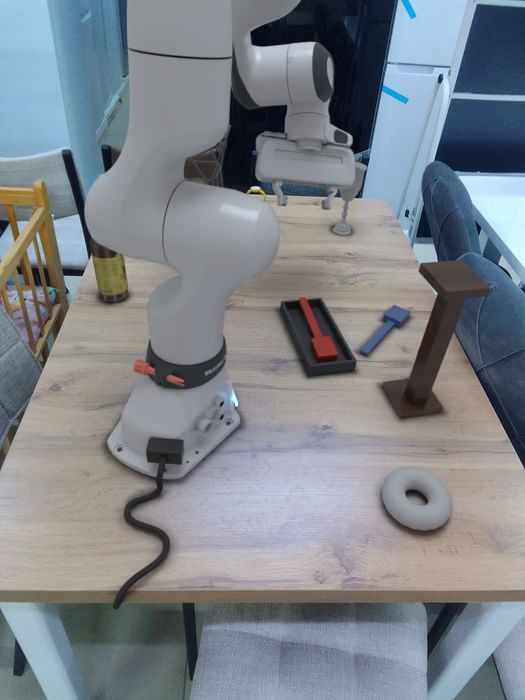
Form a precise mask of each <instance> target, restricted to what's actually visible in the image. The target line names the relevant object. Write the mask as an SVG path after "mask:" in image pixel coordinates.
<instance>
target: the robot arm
mask: <svg viewBox="0 0 525 700" xmlns="http://www.w3.org/2000/svg"><path fill="white" fill-rule="evenodd" d="M300 2H302V0H126V40H127V41H126V42H127V59H128V87H129V88H128V89H129V90H128V91H129V92H128V93H129V94H128V95H129V105H128V106H129V107H128V108H129V109H128V110H129V116H128V127H127V133H126V134H127V135H126V137H125V141H124V145H123V147H122V150H121V152H120V154H119V156H118V158H117V160H116V161H115V163H114V164H113V165H112V166H110V167H111V168H109V169H108V170H107V171H106V172H104V173H103V174H101V175H100V176H98V178H97V179H96V180H95V181H94V182H93V184H92V185H91V187H90V188H89V189H88V192H87V194H86V197H85V200H84V211H83V212H84V220H85V225H86V228H87V230H88V233H89V235H90V236H91V237H92V238H93V239H94V240H95V241H96V242H97V243H98V244H100V245H102V246H104V247H106V248H109V249H111V250H113V251H115V252H117V253H120V254H122V255H124V257H126V258H131V259H134V260H135V259H136V260H140V261H144V262H148V263H149V262H150V263H154V264H158V265H164V266H167V267H171V268H174V269H175V270H178V272H179V274H180V275H177V276H174V277H171V278H169V279H167V280H165V281H163V282H161V283H160V284H158V285H157V286H156V287H155V288H154V289H153V291H152V292H151V293H150V296H149V298H148V301H147V304H146V312H147V313H146V315H147V322H148V331H149V332H148V333H149V339H148V342H147V343H148V344H147V347H146V352H145V353H146V355H145V361H144V360H142V359H141V358H139V359H137V360H135V362H134V364H133V369H132V371H133V372H134V373H136V374H141V375H140V376H139V378H138V380H137V382H136V384H135V386H134V388H133V390H132V392H131V394H130V396H129V398H128V399H127V401H126V403H125V405H124V408H123V410H122V413H121V417H120V419H119V421H118V423H116V426H115V427H114V429H113V430H112V432H111V434H110V435H109V437H108V438H107V443H106V444H107V448H108V450H109V452H110V454H112V456H113V457H115V459H116V460H118V461H119V462H120V463H122V464H123V465H125V466H127V467H128V468H130V469H131V470H134V471H136V472H139V473H141V474H143V475H146V476H149V477H152V478H154V479H155V483H156V488H155V490H153V491H152V492H150V493H148V494H146V495H142V496H139V497H136V498H133V499H132V500H130V501H128V502H127V503H126V505H125V506H124V509H123V516H124V519H125V521H126V522H127V523H128V524H130V525H131V526H133V527H135V528H138V529H141V530H143V531H145V532H146V531H147V532H150V533H152V534H154V535H157V536H158V537H159V538H160V539H161V541H162V544H163V545H162V549H161V552H160V554H159V555H158V556H157V557H156V558H155V559H154V560H153V561H152V562H150V563H149V564H147V565H145V566H144V567H143V568H141V569H140V570H138V571H137V572H136V573H134V574H133V575H132V576H131V577H129V579H127V580H126V581H125V582H124V584H122V586H121V587H120V588H119V590H118V592H117V594H116V595H115V597H114V600H113V604H112V609H113V610H118V609H119V608H120V607H121V605H122V602H123V600H124V598H125V596H126V594H127V593H128V591H129V590H130V589H131V588H132V587H133V586H134V585H135V584H136V583H137V582H139V581H140V580H141V579H143V578H144V577H146V576H147V575H148V574H150V573H151V572H153V571H154V570H156V569H157V568H158V567H159V566H161V564H162V563H164V561H165V560H166V558H167V557H168V554H169V552H170V548H171V541H170V537H169V536H168V534H167V532H166V531H164V530H163V529H162V528H159V527H157V526H155V525H152V524H149V523H146V522H143V521H141V520H138V519H136V518H135V517H134V516H132V513H131V511H132V508H134V507H135V506H137V505H139V504H143V503H146V502H149V501H152V500H153V499H155V498H157V497H158V496H159V495H160V494H161V493H162V491H163V490H164V483H163V480H181V479H182V478H184V477H185V476H186V475H188V473H189V472H190V471H191V470H193V469H194V468H195V467H196V466H197V465H199V463H200V462H201V461H203V459H204V458H206V457H207V456H208V454H210V453H211V452H212V451H213V450H214V449H215V448H217V446H219V445H220V444H221V443H222V442H223V441H224V440H225V439H226V438H227V437H229V435H231V433H233V432H234V431H235V430H236V429H237V428H239V426H240V424H241V417H240V415H239V413H238V412H237V410H236V409H235V407H239V401H238V399H237V397H236V393H235V391H234V389H233V383H232V380H231V378H230V375H229V372H228V370H227V367H226V362H227V354H228V345H227V341H226V337H225V334H224V330H225V329H224V328H225V316H226V308H227V304H228V301H229V299H230V297H231V296H232V294H233V293H234V292H235V290H236V289H238V288H239V287H240V286H241V285H243V284H244V283H246V282H248V281H251V280H253V279H255V278H257V277H260V275H262V274H263V273H264V272H265V271H266V270H267V269H269V267H270V266H271V264H272V263H273V262H274V260H275V258H276V256H277V253H278V250H279V248H280V241H281V229H280V224H279V223H280V222H279V220H278V216H277V214H276V213H275V211H274V209H273V207H272V206H271V204H270V203H268V202H267V201H266V202H264V200H261V198H257V197H255V196H253V195H250V194H246V193H245V192H242V191H240V190H237V189H233V188H227V187H224V188H222V187H221V186H220V187H217V185H215V186H212V184H208V185H206V184H200V183H195V182H190V181H191V180H185V178H186V177H185V166H186V165H185V164H186V162H187V161H186V158H189V157H192V156H194V155H197V154H199V153H201V152H203V151H206V150H208V149H210V148H212V147H213V146H215V145H217V144H219V141H220V140H221V139H222V138H223V136H224V135H225V133H226V131H227V128H228V125H230V112H231V91H232V94H233V97H234V99H235V100H236V101H237V102H238V103H239V104H240V105H241V106H242V107H244V108H245V109H246V110H254V109H260V108H265V107H275V106H287V107H286V108H287V109H286V114H285V118H284V132H283V133H282V132H271V131H267V130H266V131H263V132H262V133H259V134H258V135H257V137H256V139H255V150H256V153H257V156H256V161H255V172H254V176H255V178H256V179H257V180H258V182H264V183H272V186H271V187H272V190H273V192H274V194H275V196H276V197H277V203H276V205H277V206H278V207H287V205H288V195H284V193H283V191H282V188H281V187H283V184H284V185H294V186H305V187H315V188H325V189H326V194H328V195H327V196H326V199H323V200H321V208H320V209H321V210H322V211H323V210H324V211H331V209H332V203H333V199H334V198H335V196H336V194H337V193H338V190H339V189H347V188H349V187H351V186H352V185H353V183H354V181H355V162H356V161H355V155H354V151H353V150H352V149H351V148H350V147H351V146H352V145H353V141H354V140H353V136H352V135H351V134H350V133H349V132H346V131H344V130H342V129H340V128H338V127H337V126H335V125H334V124H332V123H331V117H330V113H329V105H330V102H331V97H332V96H333V94H334V92H335V60H334V58H333V55H332V54H331V53H330V52H329V51H328V50H327V48H325V46H323V44H321V43H320V42H319V41H317V42H316V41H305V42H293V43H287V44H279V45H269V46H268V45H267V46H258V45H253V44H252V37H251V32H253V30H255V29H257V28H259V27H261V26H264V25H266V24H269V23H272V22H275V21H278V20H280V19H282V18H284V17H285V16H287V15H289V14H290V13H291V12H292V11H293V10H294V9H295V8H296V7H297V6H298V5H299V4H300Z"/></svg>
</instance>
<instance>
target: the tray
mask: <svg viewBox="0 0 525 700" xmlns="http://www.w3.org/2000/svg"><path fill="white" fill-rule="evenodd" d="M306 299H307V302H308V304H309V306H310V309H311V311H312V313H313V316H314V318H315V320H316V323H317V325H318V327H319V330H320V332H321V334H322V337H328V336H330V337H331V339H332V341H333V344H334V346H335V348H336V350H337V353H338V357H337V360H332V361H323V362H317V360H316V358H315V355H314V353H313V350H312V348H311V345H310V341H311V338H313V335H312V333H311V330H310V328H309V325H308V323H307V321H306V318H305V316H304V313H303V311H302V308H301V306H300V304H299V301H298V299H290V300H289V299H288V300H281V301H280V305H279V312H280V315H281V317H282V319H283V321H284V324H285V326H286V328H287V331H288V332H289V335H290V337H291V340H292V342H293V344H294V347H295V348H296V351H297V353H298V355H299V358H300V360H301V363H302V365H303V367H304V368H305V372H306V374H307V376H308V377H314V376H323V375H331V374H339V373H340V374H341V373H348V372H354V371H356V366H357V362H358V361H357V359H356V357H355V355H354V354H353V352H352V350H351V348H350V346H349V344H348V343H347V341H346V339H345V337H344V336H343V334H342V331H341V330H340V328H339V326H338V325H337V323H336V321H335V319H334V318H333V316H332V314H331V312H330V310H329V308H328V307H327V305H326V303H325V301H324V300H323V298H322V297H312V298H306Z"/></svg>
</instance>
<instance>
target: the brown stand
mask: <svg viewBox="0 0 525 700" xmlns="http://www.w3.org/2000/svg"><path fill="white" fill-rule="evenodd" d="M417 272H418V273H419V274H420V275H421V276H422V277H423V279H424V280H425V281H426V282H427V283H428V285H430V287H431V288H432V289H433V291H435V293H437V294H436V297H435V300H434V303H433V306H432V309H431V312H430V315H429V318H428V321H427V324H426V326H425V330H424V333H423V336H422V338H421V341H420V345H419V348H418V350H417V353H416V356H415V359H414V363H413V366H412V368H411V371H410V374H409V378H402V379H393V380H387V381H383V382H382V384H381V388H382V389H383V391H384V394H386V396H387V397H388V400H389V401H390V403H391V405H392V406H393V408H394V410H395V412H396V413H397V415H398V417H399V418H400V419H403V418H410V417H417V416H424V415H431V414H439V413H442V412H443V409H444V406H443V405H442V404H441V402H440V400H439V399H438V398H437V396H436V394H435V393H434V391H433V387H434V384H435V382H436V379H437V377H438V374H439V372H440V369H441V367H442V364H443V361H444V359H445V357H446V354H447V350H448V348H449V345H450V343H451V340H452V338H453V335H454V333H455V330H456V327H457V325H458V322H459V320H460V318H461V314H462V312H463V310H464V307H465V304H466V302H467V300H468V299H478V298H487V297H488V295H489V293H490V291H491V287H490V286H489V285H488V284H487V283H486V282H485V281H484V280H483V279H482V278H481V277H480V276H479V275H478V274H477V273H476V272H475V271H474V270H472V269H471V267H469V266H468V265H467V264H466V263H465V261H463V260H462V259H457V260H441V261H429V262H420V264H419V268H418V271H417Z"/></svg>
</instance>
